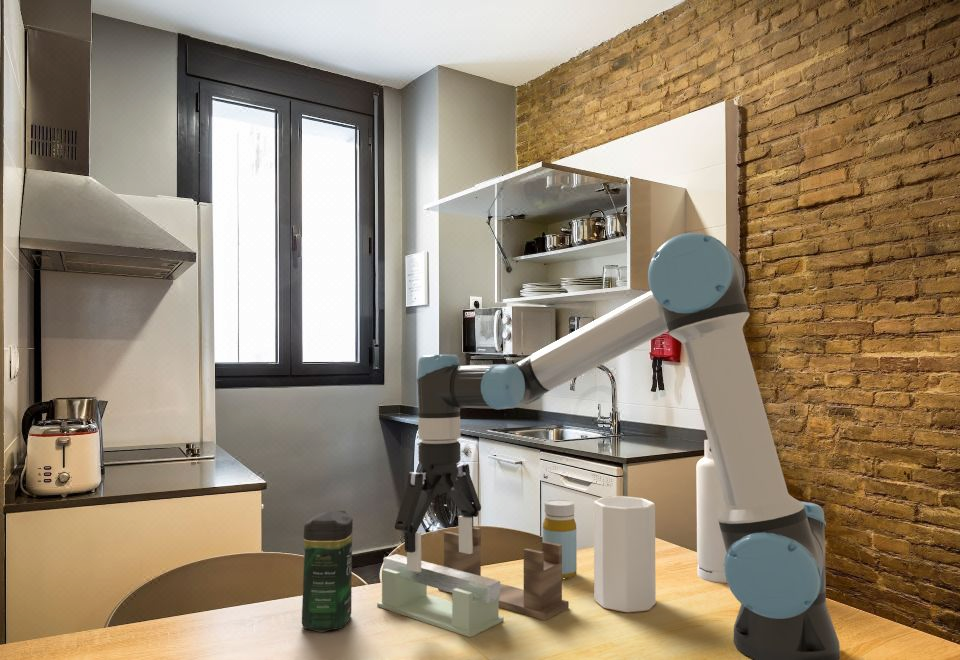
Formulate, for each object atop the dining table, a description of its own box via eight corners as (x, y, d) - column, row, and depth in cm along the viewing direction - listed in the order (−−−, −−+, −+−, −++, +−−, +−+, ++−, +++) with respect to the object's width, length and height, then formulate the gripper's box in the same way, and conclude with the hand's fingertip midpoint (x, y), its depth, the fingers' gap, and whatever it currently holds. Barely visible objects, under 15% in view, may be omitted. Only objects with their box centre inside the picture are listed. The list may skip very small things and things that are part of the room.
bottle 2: (697, 580, 140) (696, 442, 141) (697, 568, 148) (695, 438, 149) (739, 584, 138) (738, 443, 139) (737, 572, 146) (735, 439, 147)
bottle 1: (536, 572, 145) (536, 500, 146) (565, 568, 148) (564, 497, 149) (553, 582, 139) (553, 507, 140) (583, 577, 142) (582, 504, 143)
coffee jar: (344, 633, 113) (345, 519, 114) (296, 633, 113) (298, 519, 114) (356, 612, 123) (357, 506, 123) (312, 611, 123) (313, 506, 123)
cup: (627, 618, 120) (626, 511, 121) (581, 599, 129) (581, 500, 130) (668, 604, 126) (667, 503, 127) (622, 588, 135) (622, 493, 136)
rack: (568, 608, 125) (568, 545, 125) (545, 620, 119) (545, 554, 119) (463, 579, 140) (463, 524, 141) (438, 589, 134) (438, 531, 135)
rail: (500, 597, 115) (500, 581, 116) (488, 603, 113) (488, 585, 113) (395, 568, 131) (395, 554, 131) (383, 573, 129) (383, 557, 129)
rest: (503, 620, 118) (503, 582, 119) (470, 637, 111) (470, 596, 112) (412, 593, 132) (412, 558, 133) (377, 606, 125) (377, 569, 126)
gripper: (467, 433, 135) (469, 542, 134) (372, 446, 116) (374, 574, 115) (498, 435, 130) (500, 548, 129) (404, 449, 111) (406, 583, 110)
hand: (441, 561), depth 122 cm, fingers open, 13 cm apart
